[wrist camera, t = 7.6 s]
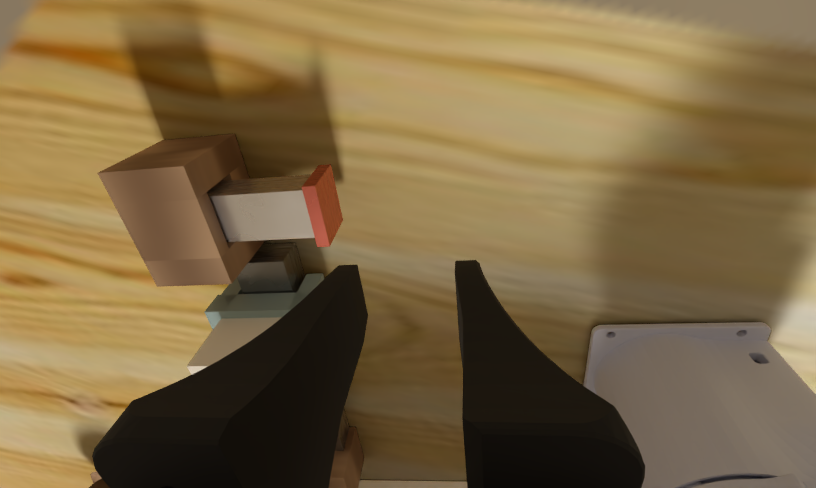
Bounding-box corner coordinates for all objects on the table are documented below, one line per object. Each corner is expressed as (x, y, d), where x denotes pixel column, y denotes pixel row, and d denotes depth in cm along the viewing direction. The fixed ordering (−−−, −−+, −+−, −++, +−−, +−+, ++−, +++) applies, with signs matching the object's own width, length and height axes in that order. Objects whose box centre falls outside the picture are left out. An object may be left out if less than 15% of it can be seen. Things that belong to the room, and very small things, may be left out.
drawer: (330, 164, 20) (314, 185, 17) (343, 219, 21) (329, 246, 19) (222, 172, 20) (193, 194, 18) (241, 225, 22) (217, 251, 20)
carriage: (326, 273, 24) (286, 358, 19) (342, 335, 27) (311, 427, 21) (232, 276, 25) (167, 358, 20) (256, 336, 28) (205, 425, 22)
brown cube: (355, 427, 32) (343, 478, 29) (364, 457, 34) (354, 508, 31) (307, 426, 33) (290, 476, 30) (318, 456, 35) (303, 505, 32)
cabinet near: (234, 133, 21) (183, 166, 17) (268, 236, 24) (231, 283, 20) (163, 140, 21) (97, 173, 18) (205, 239, 24) (157, 286, 21)
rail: (295, 242, 24) (283, 261, 22) (349, 427, 33) (343, 451, 31) (247, 244, 24) (231, 263, 23) (313, 426, 33) (305, 450, 31)
